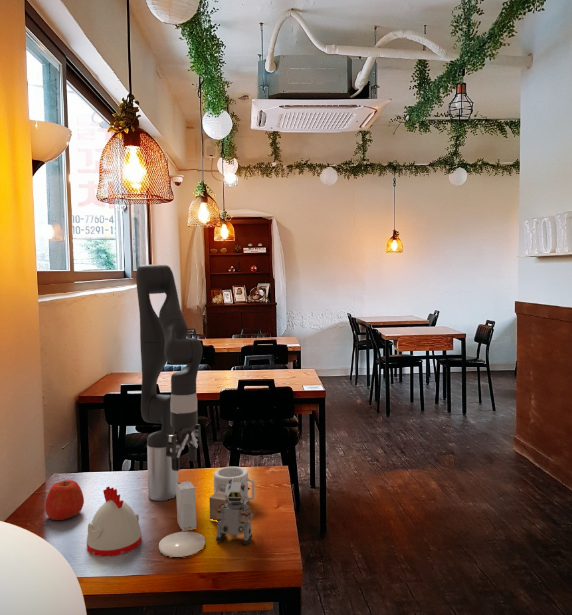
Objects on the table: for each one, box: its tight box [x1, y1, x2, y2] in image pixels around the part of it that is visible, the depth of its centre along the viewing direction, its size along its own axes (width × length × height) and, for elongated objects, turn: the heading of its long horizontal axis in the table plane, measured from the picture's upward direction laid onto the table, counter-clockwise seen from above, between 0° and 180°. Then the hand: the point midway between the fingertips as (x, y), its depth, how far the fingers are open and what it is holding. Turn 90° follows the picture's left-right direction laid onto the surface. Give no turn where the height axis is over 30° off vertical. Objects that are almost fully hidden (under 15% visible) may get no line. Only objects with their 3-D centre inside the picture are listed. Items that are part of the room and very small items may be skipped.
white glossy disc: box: [158, 531, 206, 558], centre depth 140 cm, size 12×12×1 cm
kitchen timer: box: [86, 486, 142, 557], centre depth 142 cm, size 14×14×15 cm
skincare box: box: [175, 480, 198, 532], centre depth 151 cm, size 6×4×12 cm
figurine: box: [215, 478, 254, 546], centre depth 144 cm, size 9×12×15 cm
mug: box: [213, 466, 256, 505], centre depth 166 cm, size 14×11×10 cm
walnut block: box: [209, 491, 228, 520], centre depth 156 cm, size 5×5×7 cm
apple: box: [44, 479, 85, 521], centre depth 158 cm, size 11×11×11 cm
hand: (184, 465), depth 150 cm, fingers open, 8 cm apart
